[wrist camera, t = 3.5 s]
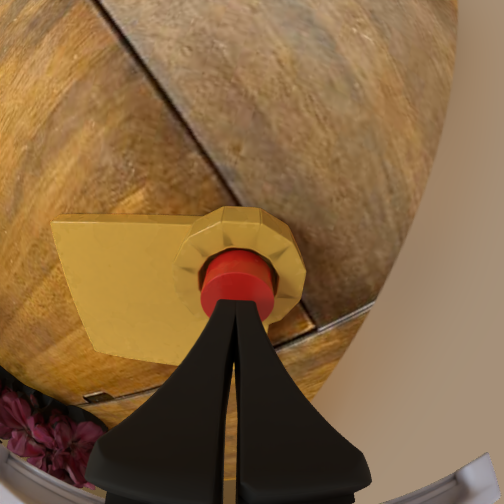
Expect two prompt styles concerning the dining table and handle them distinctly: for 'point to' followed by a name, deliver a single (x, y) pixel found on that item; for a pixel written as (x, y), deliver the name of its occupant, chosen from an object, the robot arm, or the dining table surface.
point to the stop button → (238, 281)
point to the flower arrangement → (47, 431)
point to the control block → (164, 274)
